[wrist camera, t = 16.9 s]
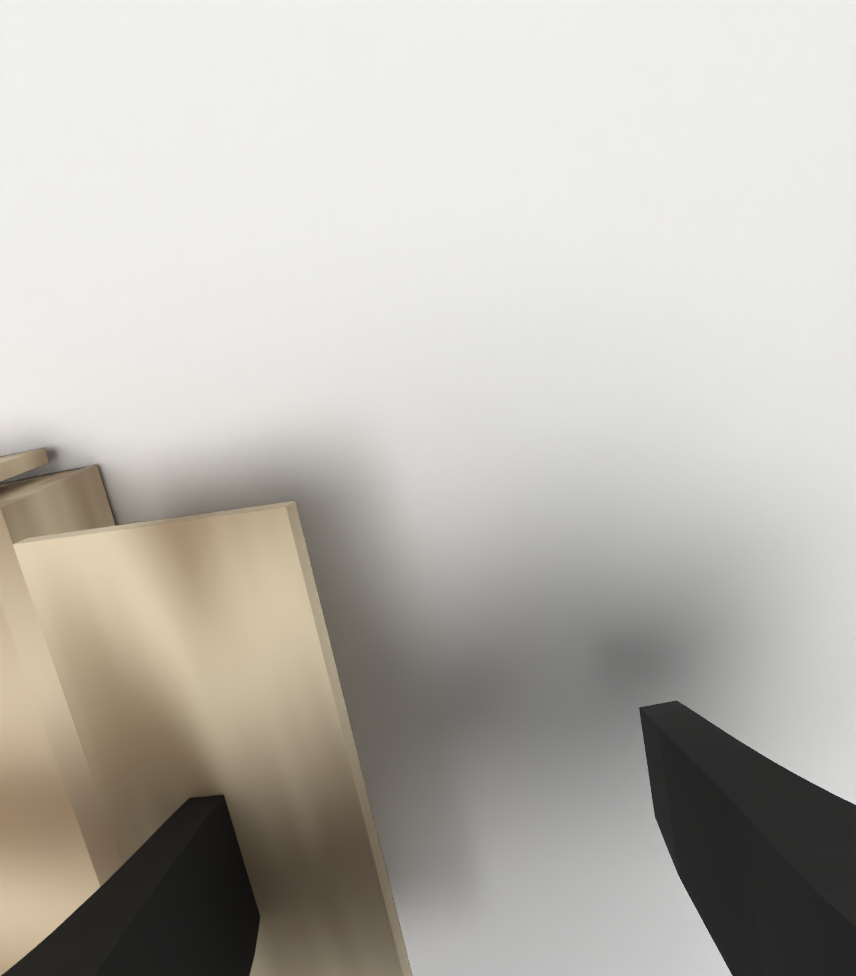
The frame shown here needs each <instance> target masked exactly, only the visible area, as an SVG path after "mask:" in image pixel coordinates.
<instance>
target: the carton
mask: <svg viewBox="0 0 856 976" xmlns="http://www.w3.org/2000/svg"><path fill="white" fill-rule="evenodd" d="M47 463H49V460H48V456H47V453H46V450H45V448H42V449H37V450H32V451H27V452H22V453H17V454H12V455H7V456H2V457H0V482H1V481H4V480H6V479H9V478H11V477H14V476H16V475H19V474H22V473H24V472H27V471H29V470H32V469H35V468H37V467H40V466H42V465H45V464H47ZM110 526H116V525H115V522H114V519H113V515H112V512H111V509H110V506H109V502H108V499H107V496H106V493H105V489H104V486H103V483H102V480H101V476H100V473H99V470H98V467H97V465H93V466H88V467H83V468H78V469H73V470H68V471H63V472H58V473H53V474H48V475H43V476H38V477H33V478H28V479H23V480H18V481H13V482H8V483H3V484H0V976H1V975H2V974H4V973H5V972H6V971H7V970H9V969H10V968H11V967H12V966H13V965H15V964H16V963H17V962H18V961H20V960H21V959H22V958H23V957H24V956H25V955H27V954H28V953H29V952H30V951H31V950H33V949H34V948H35V947H36V946H37V945H38V944H39V943H41V942H42V941H43V940H44V939H45V938H46V937H47V936H49V935H50V934H51V933H52V932H53V931H54V930H55V929H56V928H57V927H58V926H59V925H60V924H62V923H63V922H64V921H65V920H66V919H67V918H68V917H69V916H70V915H71V914H72V913H73V912H74V911H75V910H76V909H77V908H79V907H80V906H81V905H82V904H83V903H84V902H85V901H86V900H87V899H88V898H89V897H90V896H91V895H92V894H93V893H94V892H96V891H97V890H98V889H99V888H100V887H101V886H102V885H103V884H104V883H105V882H106V881H107V880H108V879H109V878H110V877H111V876H112V875H113V874H114V873H115V872H116V871H117V870H118V869H119V868H120V867H121V866H122V862H121V859H120V856H119V853H118V850H117V848H116V845H115V842H114V839H113V836H112V833H111V830H110V827H109V824H108V821H107V818H106V815H105V812H104V810H103V807H102V804H101V801H100V798H99V795H98V792H97V789H96V786H95V783H94V780H93V777H92V775H91V772H90V769H89V766H88V763H87V760H86V757H85V754H84V751H83V748H82V745H81V742H80V739H79V737H78V734H77V731H76V728H75V725H74V722H73V719H72V716H71V713H70V710H69V707H68V704H67V702H66V699H65V696H64V693H63V690H62V687H61V684H60V681H59V678H58V675H57V672H56V669H55V667H54V664H53V661H52V658H51V655H50V652H49V649H48V646H47V643H46V640H45V637H44V634H43V631H42V629H41V626H40V623H39V620H38V617H37V614H36V611H35V608H34V605H33V602H32V599H31V596H30V594H29V591H28V588H27V585H26V582H25V579H24V576H23V573H22V570H21V567H20V564H19V561H18V558H17V556H16V553H15V550H14V547H13V544H15V543H17V542H20V541H22V540H24V539H26V538H31V537H38V536H45V535H52V534H59V533H67V532H74V531H81V530H88V529H95V528H102V527H110Z"/></svg>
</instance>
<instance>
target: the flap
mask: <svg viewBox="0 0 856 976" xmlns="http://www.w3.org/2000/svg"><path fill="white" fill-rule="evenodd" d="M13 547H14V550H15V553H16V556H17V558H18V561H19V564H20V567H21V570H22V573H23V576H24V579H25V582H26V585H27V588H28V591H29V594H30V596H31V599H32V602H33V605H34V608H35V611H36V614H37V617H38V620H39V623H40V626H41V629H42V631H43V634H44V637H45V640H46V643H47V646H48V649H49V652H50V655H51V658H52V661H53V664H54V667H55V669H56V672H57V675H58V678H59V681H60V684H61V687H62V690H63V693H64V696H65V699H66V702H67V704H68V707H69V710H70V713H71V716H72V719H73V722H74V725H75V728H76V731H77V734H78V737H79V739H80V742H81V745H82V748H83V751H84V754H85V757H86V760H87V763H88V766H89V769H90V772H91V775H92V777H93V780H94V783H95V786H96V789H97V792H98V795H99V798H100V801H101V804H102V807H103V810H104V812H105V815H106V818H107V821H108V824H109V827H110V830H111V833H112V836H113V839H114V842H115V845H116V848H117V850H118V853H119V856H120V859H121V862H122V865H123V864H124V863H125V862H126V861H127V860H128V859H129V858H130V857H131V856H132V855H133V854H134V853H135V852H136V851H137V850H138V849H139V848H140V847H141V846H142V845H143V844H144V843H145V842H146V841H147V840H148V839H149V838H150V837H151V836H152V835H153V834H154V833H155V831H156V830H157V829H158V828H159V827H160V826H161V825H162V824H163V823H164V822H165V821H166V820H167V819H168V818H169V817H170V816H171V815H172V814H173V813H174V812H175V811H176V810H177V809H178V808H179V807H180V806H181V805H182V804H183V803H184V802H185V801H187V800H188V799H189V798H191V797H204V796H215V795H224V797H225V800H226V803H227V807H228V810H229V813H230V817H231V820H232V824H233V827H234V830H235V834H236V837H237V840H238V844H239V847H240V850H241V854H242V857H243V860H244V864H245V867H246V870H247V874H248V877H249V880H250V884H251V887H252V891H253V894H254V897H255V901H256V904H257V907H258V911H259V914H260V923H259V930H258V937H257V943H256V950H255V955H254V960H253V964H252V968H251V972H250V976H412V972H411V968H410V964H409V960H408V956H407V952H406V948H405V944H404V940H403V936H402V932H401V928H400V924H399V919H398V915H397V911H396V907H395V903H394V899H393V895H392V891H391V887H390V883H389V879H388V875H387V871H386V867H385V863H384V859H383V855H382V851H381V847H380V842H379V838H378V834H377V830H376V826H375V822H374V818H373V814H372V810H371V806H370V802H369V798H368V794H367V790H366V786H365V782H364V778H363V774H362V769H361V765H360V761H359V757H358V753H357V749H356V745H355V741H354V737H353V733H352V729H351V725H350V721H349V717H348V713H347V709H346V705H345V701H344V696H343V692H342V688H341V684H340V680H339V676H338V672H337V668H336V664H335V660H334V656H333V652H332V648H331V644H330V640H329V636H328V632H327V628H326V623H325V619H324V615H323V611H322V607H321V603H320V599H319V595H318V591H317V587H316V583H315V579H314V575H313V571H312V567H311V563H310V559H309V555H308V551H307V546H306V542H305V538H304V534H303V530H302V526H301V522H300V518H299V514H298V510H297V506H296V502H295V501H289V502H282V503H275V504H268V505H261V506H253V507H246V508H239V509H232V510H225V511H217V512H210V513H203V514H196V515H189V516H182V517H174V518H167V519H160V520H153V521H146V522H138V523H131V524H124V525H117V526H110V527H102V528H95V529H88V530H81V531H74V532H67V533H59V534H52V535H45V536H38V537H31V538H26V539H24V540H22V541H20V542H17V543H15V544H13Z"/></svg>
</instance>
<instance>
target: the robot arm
mask: <svg viewBox="0 0 856 976" xmlns="http://www.w3.org/2000/svg"><path fill="white" fill-rule="evenodd" d="M639 710H640V717H641V723H642V730H643V737H644V744H645V751H646V758H647V765H648V772H649V778H650V785H651V792H652V799H653V806H654V813H655V818H656V820H657V823H658V825H659V828H660V830H661V833H662V835H663V838H664V841H665V843H666V846H667V848H668V851H669V853H670V856H671V858H672V860H673V863H674V865H675V868H676V870H677V873H678V875H679V877H680V879H681V881H682V883H683V885H684V887H685V888H686V890H687V892H688V894H689V896H690V898H691V900H692V902H693V903H694V905H695V907H696V909H697V911H698V913H699V915H700V917H701V918H702V920H703V922H704V924H705V926H706V928H707V929H708V931H709V933H710V935H711V937H712V939H713V941H714V942H715V944H716V946H717V948H718V950H719V952H720V953H721V955H722V957H723V959H724V961H725V963H726V964H727V966H728V968H729V970H730V972H731V974H732V975H733V976H856V805H855V804H853V803H850V802H848V801H846V800H844V799H842V798H840V797H838V796H836V795H834V794H832V793H830V792H828V791H826V790H824V789H822V788H821V787H819V786H817V785H815V784H813V783H811V782H809V781H807V780H805V779H804V778H802V777H800V776H798V775H796V774H794V773H792V772H791V771H789V770H787V769H785V768H784V767H782V766H780V765H778V764H777V763H775V762H773V761H771V760H770V759H768V758H766V757H765V756H763V755H761V754H760V753H758V752H756V751H755V750H753V749H751V748H750V747H748V746H747V745H745V744H743V743H742V742H740V741H739V740H737V739H735V738H734V737H732V736H731V735H729V734H728V733H726V732H724V731H723V730H721V729H720V728H718V727H717V726H715V725H714V724H712V723H711V722H709V721H707V720H706V719H704V718H703V717H701V716H700V715H698V714H697V713H695V712H694V711H692V710H691V709H689V708H688V707H686V706H685V705H683V704H681V703H680V702H678V701H672V702H666V703H661V704H656V705H651V706H645V707H640V708H639ZM259 923H260V914H259V911H258V907H257V904H256V901H255V897H254V894H253V891H252V887H251V884H250V880H249V877H248V874H247V870H246V867H245V864H244V860H243V857H242V854H241V850H240V847H239V844H238V840H237V837H236V834H235V830H234V827H233V824H232V820H231V817H230V813H229V810H228V807H227V803H226V800H225V797H224V795H215V796H204V797H191V798H189V799H188V800H187V801H185V802H184V803H183V804H182V805H181V806H180V807H179V808H178V809H177V810H176V811H175V812H174V813H173V814H172V815H171V816H170V817H169V818H168V819H167V820H166V821H165V822H164V823H163V824H162V825H161V826H160V827H159V828H158V829H157V830H156V831H155V833H154V834H153V835H152V836H151V837H150V838H149V839H148V840H147V841H146V842H145V843H144V844H143V845H142V846H141V847H140V848H139V849H138V850H137V851H136V852H135V853H134V854H133V855H132V856H131V857H130V858H129V859H128V860H127V861H126V862H125V863H124V864H123V865H122V866H121V867H120V868H119V869H118V870H117V871H116V872H115V873H114V874H113V875H112V876H111V877H110V878H109V879H108V880H107V881H106V882H105V883H104V884H103V885H102V886H101V887H100V888H99V889H98V890H97V891H96V892H94V893H93V894H92V895H91V896H90V897H89V898H88V899H87V900H86V901H85V902H84V903H83V904H82V905H81V906H80V907H79V908H77V909H76V910H75V911H74V912H73V913H72V914H71V915H70V916H69V917H68V918H67V919H66V920H65V921H64V922H63V923H62V924H60V925H59V926H58V927H57V928H56V929H55V930H54V931H53V932H52V933H51V934H50V935H49V936H47V937H46V938H45V939H44V940H43V941H42V942H41V943H39V944H38V945H37V946H36V947H35V948H34V949H33V950H31V951H30V952H29V953H28V954H27V955H25V956H24V957H23V958H22V959H21V960H20V961H18V962H17V963H16V964H15V965H13V966H12V967H11V968H10V969H9V970H7V971H6V972H5V973H4V974H2V975H1V976H250V972H251V968H252V964H253V960H254V955H255V950H256V943H257V937H258V930H259Z"/></svg>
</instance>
